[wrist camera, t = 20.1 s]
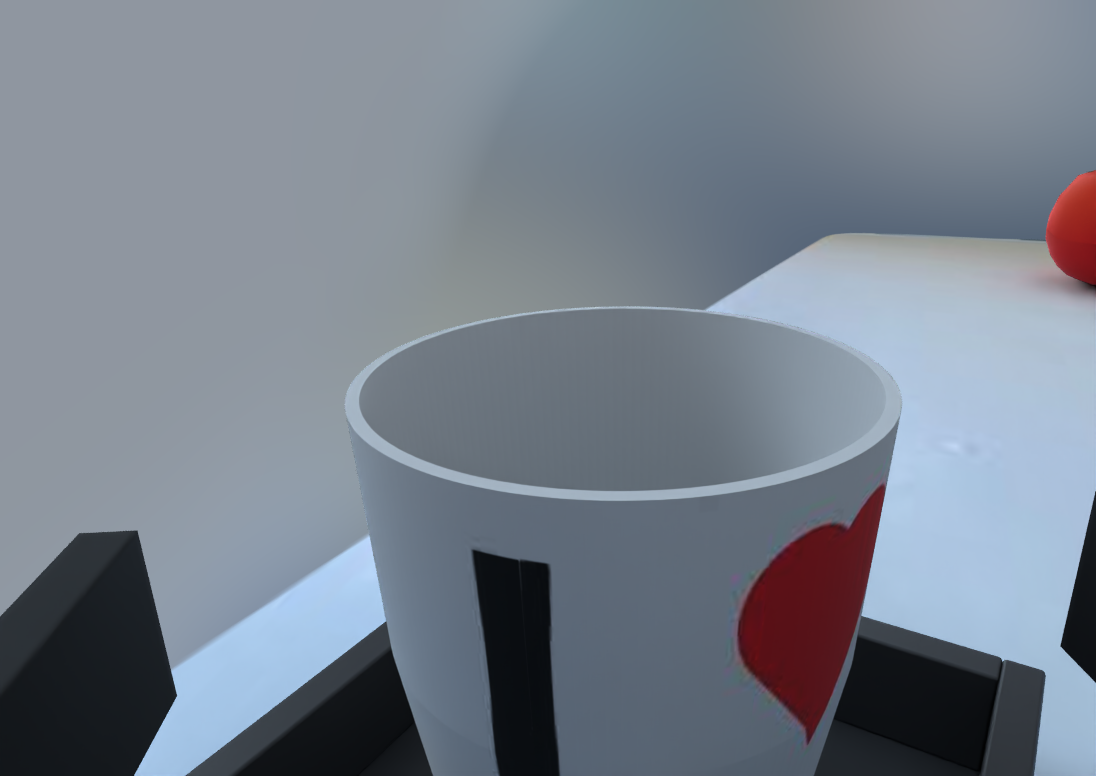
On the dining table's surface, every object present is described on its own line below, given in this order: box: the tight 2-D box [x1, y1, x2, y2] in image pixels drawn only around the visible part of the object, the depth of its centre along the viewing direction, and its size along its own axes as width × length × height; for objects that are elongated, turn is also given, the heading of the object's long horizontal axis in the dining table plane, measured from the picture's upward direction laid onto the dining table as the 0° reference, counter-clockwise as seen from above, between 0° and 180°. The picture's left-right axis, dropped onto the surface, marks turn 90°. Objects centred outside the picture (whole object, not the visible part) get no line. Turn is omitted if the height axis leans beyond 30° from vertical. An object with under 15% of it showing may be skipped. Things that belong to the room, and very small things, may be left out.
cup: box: [345, 307, 902, 776], centre depth 14 cm, size 8×8×10 cm
